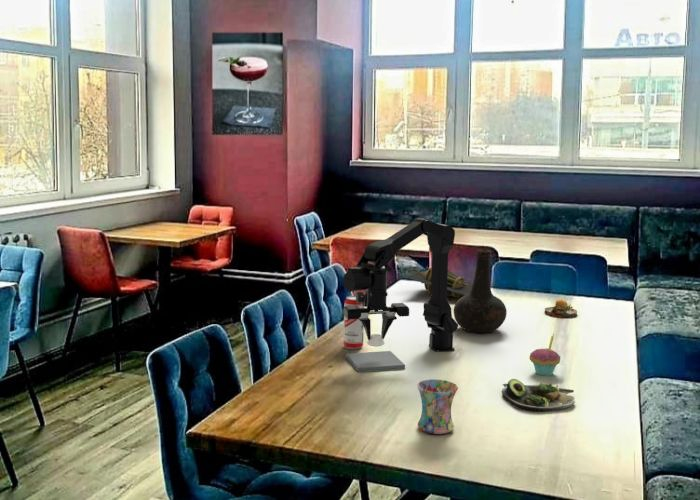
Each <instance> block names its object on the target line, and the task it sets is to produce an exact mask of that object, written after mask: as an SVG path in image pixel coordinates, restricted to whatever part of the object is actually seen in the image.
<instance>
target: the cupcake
mask: <svg viewBox="0 0 700 500" xmlns="http://www.w3.org/2000/svg"><path fill="white" fill-rule="evenodd" d="M554 335H555V333H553V334H552V335H551V337H550V341H549V345H548V348H537V349H534V350H533V351H531V353H530V354H529V360H530V362H531V363H532V364H533V367H534V371H535V374H537V375H539V376H545V377H546V376H548V377H549V376H552V375H553V374H554V372H555V369H556V367H557V365H559V364H560V362H561V356H560V355H559V354H558V352H556V351H555V350H553V349H552V346H553V342H554Z"/></svg>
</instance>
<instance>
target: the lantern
mask: <svg viewBox="0 0 700 500" xmlns="http://www.w3.org/2000/svg"><path fill="white" fill-rule="evenodd" d="M426 269H427V270H422V271H421V268H416V267H411V268H407V270H406V271H405V273H406V275H408V277H410V276H412V277H411V278H410V279H411V280H414V281H417V282H420V284H424V289H425V291H424V294H425V293H429V294H431V275H432V266H431V267H430V268H429V267H428V266H426ZM412 270H413V271H414V270H416V272H415V273H409V272H408V271H412ZM420 271H421V272H420ZM466 280H467V278H464V277H462V276H459V275H457V274H455V273H453V272H452V271H449V270H448V275H447V296H451V297H453V298H458V299H460V295H462V296H465V295H467V294H468V293H469V292H470V291H471V289H472V286H473V283H470V282H465V281H466Z"/></svg>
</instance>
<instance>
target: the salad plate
mask: <svg viewBox="0 0 700 500" xmlns="http://www.w3.org/2000/svg"><path fill="white" fill-rule="evenodd" d="M502 386H504V387H503V388H502V389H501V394H502V397H503V398H504V399H505V400H506V402H507V403H509V404H510V405H511V406H513V407H514V406H515V409H516V408H517V409H518V410H519V409H520V410H522V411H526V412H527V411H528V412H537V413H538V412H539V413H540V412H550V411H551V412H552V411H558V410H563V409H568V408H570V407H571V406H573V405H574V404H575V403H576V401H575V399H574V398H572V397H571V396H569V395H568V394H573V393H574V391H575V390H574V389H569V388H561V387H559V385H558V384H556V386H554V385H553V384H552V383H550V384H548V383H543V382H540V383H539V384H538V383H537V384H524V383H523V382H522V381H521V380H518V379H517V378H511V379H509V380H508V382H507V383H504V384H502ZM553 402H558V403H560V404H561V405H559V406H550V405H549V403H553Z"/></svg>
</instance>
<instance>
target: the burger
mask: <svg viewBox="0 0 700 500" xmlns="http://www.w3.org/2000/svg"><path fill="white" fill-rule="evenodd" d="M544 314H545V315H546V316H552V317H554V318H560V319H570V318H576V317H578V310H576V309H574V306H571V304H568V302H567V301H566V299H563V298H561V299H557V300H556V301H555V303H554V306H548V307H545V308H544Z"/></svg>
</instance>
